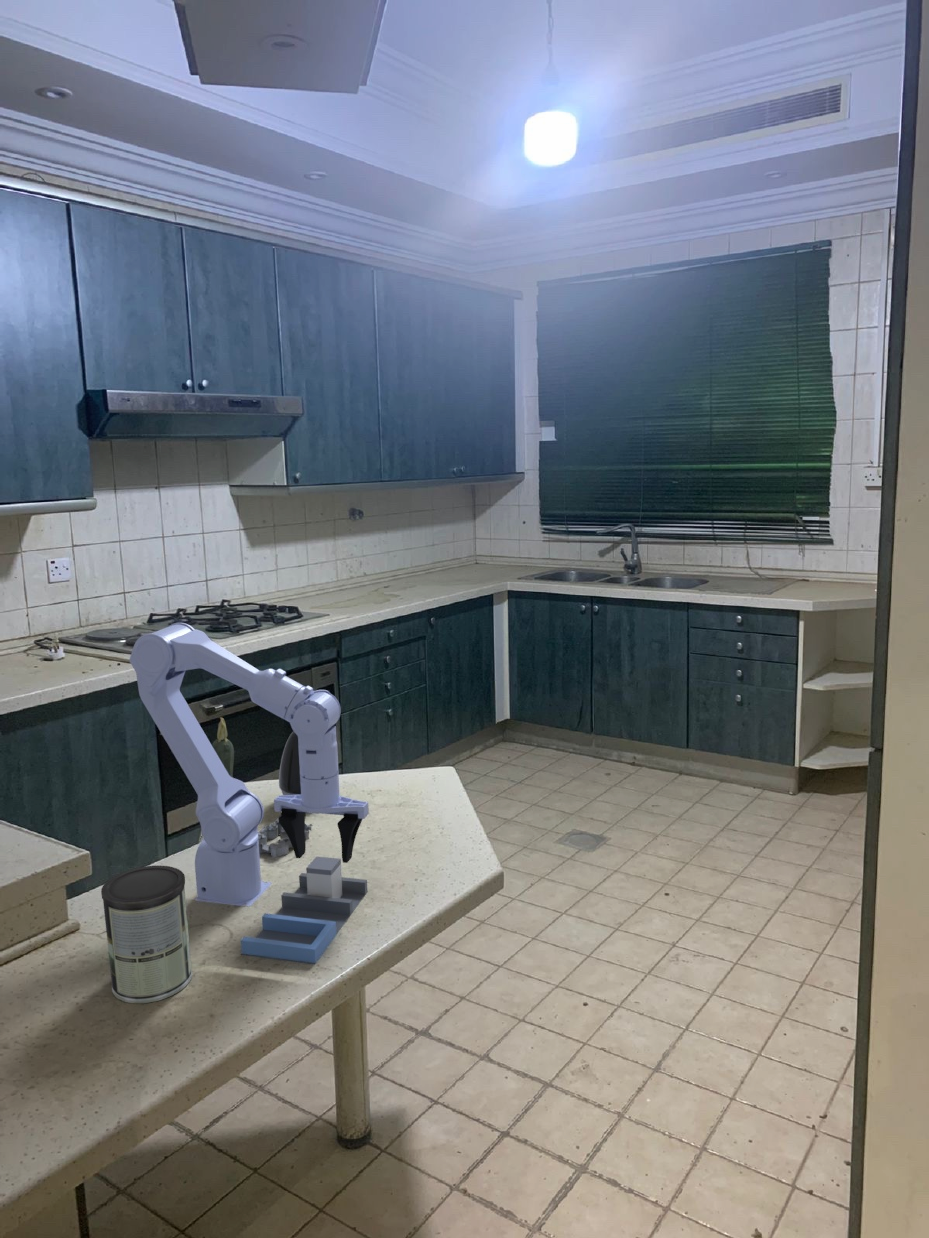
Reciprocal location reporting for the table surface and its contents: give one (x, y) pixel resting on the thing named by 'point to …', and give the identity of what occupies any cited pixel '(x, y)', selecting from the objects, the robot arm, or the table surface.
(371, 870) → the table surface
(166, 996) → the coffee can
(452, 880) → the table surface
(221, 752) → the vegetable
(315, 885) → the grey square block
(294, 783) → the black penguin toy
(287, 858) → the table surface
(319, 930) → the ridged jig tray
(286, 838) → the grey lumpy cluster
